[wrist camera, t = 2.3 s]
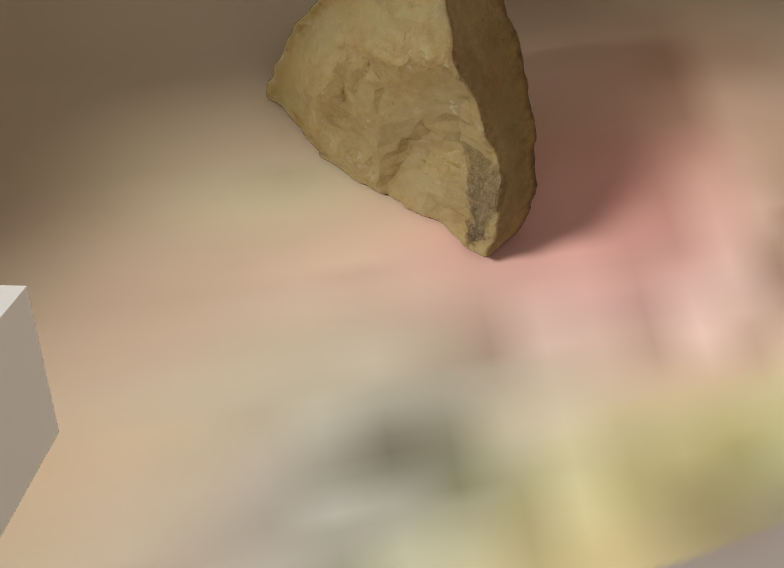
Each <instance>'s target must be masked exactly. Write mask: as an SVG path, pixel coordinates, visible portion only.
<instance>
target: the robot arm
mask: <svg viewBox="0 0 784 568" xmlns="http://www.w3.org/2000/svg"><path fill="white" fill-rule="evenodd" d="M58 433H59V429H58V424H57V420H56V415H55V411H54V406H53V402H52V397H51V393H50V388H49V384H48V379H47V375H46V370H45V366H44V361H43V357H42V352H41V348H40V343H39V339H38V334H37V330H36V325H35V321H34V316H33V312H32V307H31V303H30V298H29V294H28V289H27V286H13V285H0V537H1V536H2V534H3V532H4V530H5V528H6V526H7V525H8V523H9V521H10V519H11V517H12V516H13V514H14V512H15V510H16V508H17V507H18V505H19V503H20V501H21V499H22V498H23V496H24V494H25V492H26V490H27V489H28V487H29V485H30V483H31V481H32V480H33V478H34V476H35V474H36V472H37V471H38V469H39V467H40V465H41V463H42V462H43V460H44V458H45V456H46V454H47V453H48V451H49V449H50V447H51V445H52V444H53V442H54V440H55V438H56V436H57V434H58Z"/></svg>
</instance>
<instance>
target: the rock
mask: <svg viewBox="0 0 784 568" xmlns="http://www.w3.org/2000/svg"><path fill="white" fill-rule="evenodd" d="M266 95H267V97H268V98H269V99H270V100H272V101H274V102H277V103H278V104H280V105H281V106H283V108H284V109H285V110H286V112H287V113H288V114H289V116H290V117H291V118H292V119H293V120H294V122H295V123H296V124H297V125H299V126H300V128H301V129H302V130H303V133H304V134H305V136H306V138H307V139H308V140H309V141H310V142H311V143H312V144H313V145H314V146H315V147H316V148H317V149H318V150H319V155H320V157H322V158H323V159H325V160H327V161H329V162H331V163H333V164H335V165H336V166H338V167H339V168H340V169H342V170H343V171H344V172H345V173H347V174H348V175H350V177H351V178H353V179H354V180H355V181H357V182H359V183H363V184H366V185H367V186H369V187H370V188H372V189H373V190H375V191H377V192H379V193H381V194H388V195H390V196H391V197H393V198H394V199H396V200H398V201H400V202H402V203H403V205H404V206H405V207H406V208H407V209H409V210H412V211H414V212H416V213H418V214H420V215H423V216H426V217H431V218H433V219H435V220H437V221H439V222H441V223H443V224H444V225H445V226H446V227H447V228H448V229H449V230H450V232H451V233H452V234H453V235H455V236H456V237H457V238H458V239H459V240H460V241H461V242H462V244H463V245H464V246H465V247H467V248H468V249H469V250H470V251H473V252H475V253H477V254H479V255H481V256H483V257H488V256H489V255H491V254H492V253H493V252H494V251H495V250H497V249H498V248H499V247H500V246H501V245H502V244H503V243H504V242H505V241H507V240H508V239H509V238H511V237H512V236H513V235H514V234H515V233H516V232H517V231H518V230H519V229H520V227H521V226H522V224H523V223H524V221H525V219H526V217H527V215H528V213H529V211H530V208H531V206H530V204H531V201H532V199H533V197H534V195H535V192H536V187H537V182H536V176H535V167H534V165H535V156H534V144H535V141H536V129H535V120H534V117H533V114H532V111H531V105H530V103H529V97H528V83H527V79H526V76H525V74H524V67H523V57H522V53H521V48H520V42H519V39H518V35H517V33H516V31H515V29H514V27H513V25H512V23H511V21H510V20H509V18H508V16H507V13H506V9H505V5H504V0H318V1H317V2H316V3H315V4H314V5H313V6H312V7H311V8H310V10H309V12H308V13H307V14H306V15H305V16H304V17H302V18H301V19H300V20H298V21H297V23H296V24H295V26H294V28H293V30H292V33H291V35H290V37H289V38H288V39H287V41H286V44H285V48H284V51H283V54H282V56H281V57H280V59H279V60H278V62H277V63H276V64H275V65H274V75H273V77H272V79H271V80H269V82H268V84H267V94H266Z"/></svg>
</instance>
